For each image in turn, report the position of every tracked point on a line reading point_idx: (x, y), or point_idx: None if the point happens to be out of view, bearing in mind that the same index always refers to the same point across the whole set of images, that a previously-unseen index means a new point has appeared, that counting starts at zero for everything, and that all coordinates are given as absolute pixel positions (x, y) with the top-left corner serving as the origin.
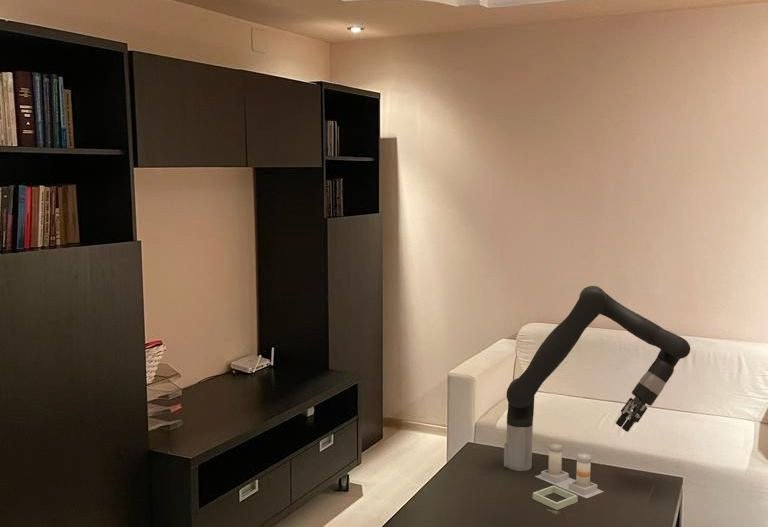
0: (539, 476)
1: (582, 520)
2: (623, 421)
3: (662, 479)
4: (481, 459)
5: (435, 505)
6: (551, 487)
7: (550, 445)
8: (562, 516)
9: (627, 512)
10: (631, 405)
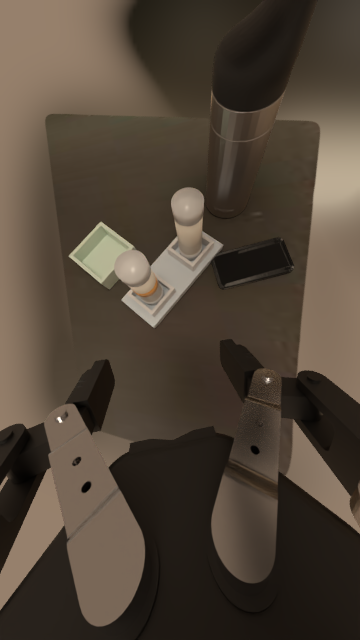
0: None
1: (67, 297)
2: (232, 378)
3: None
4: None
5: (84, 135)
6: (125, 244)
7: (177, 192)
8: (75, 271)
9: None
10: (108, 505)
